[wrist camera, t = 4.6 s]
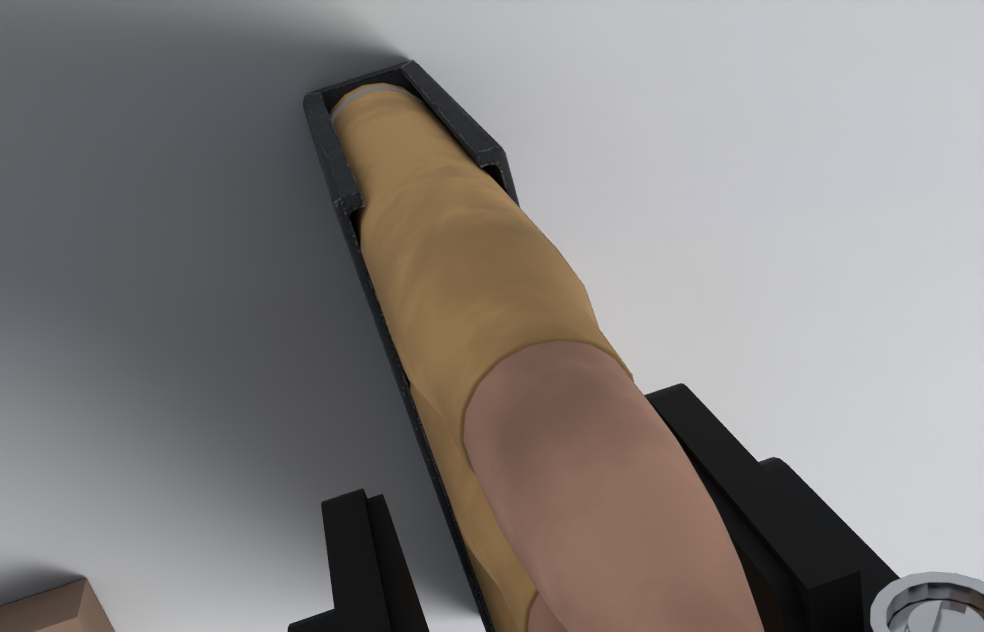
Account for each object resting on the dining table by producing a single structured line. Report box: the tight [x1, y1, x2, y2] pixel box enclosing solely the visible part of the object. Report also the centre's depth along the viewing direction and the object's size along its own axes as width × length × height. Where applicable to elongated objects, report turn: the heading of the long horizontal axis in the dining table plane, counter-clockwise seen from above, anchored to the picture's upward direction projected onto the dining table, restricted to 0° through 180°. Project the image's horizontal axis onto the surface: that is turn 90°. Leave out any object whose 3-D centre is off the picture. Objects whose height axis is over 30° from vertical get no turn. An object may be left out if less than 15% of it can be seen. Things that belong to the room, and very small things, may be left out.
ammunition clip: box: [303, 60, 764, 632], centre depth 11 cm, size 11×2×12 cm, turn 15°
